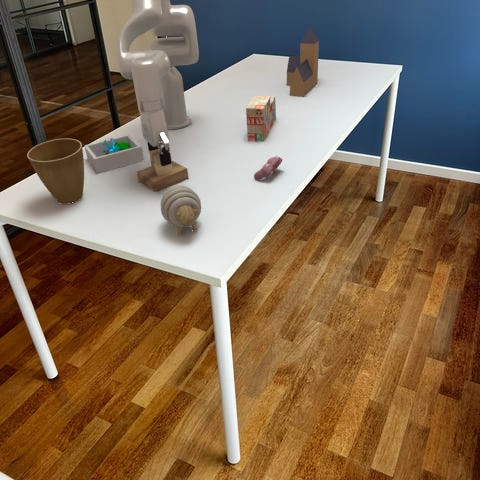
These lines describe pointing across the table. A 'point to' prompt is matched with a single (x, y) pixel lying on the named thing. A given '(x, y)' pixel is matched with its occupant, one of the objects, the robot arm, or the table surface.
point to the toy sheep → (180, 207)
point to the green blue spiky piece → (116, 147)
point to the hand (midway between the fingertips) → (160, 158)
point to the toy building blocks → (304, 66)
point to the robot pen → (113, 154)
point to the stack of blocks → (260, 117)
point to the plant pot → (60, 168)
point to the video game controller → (268, 168)
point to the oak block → (159, 163)
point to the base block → (162, 177)
